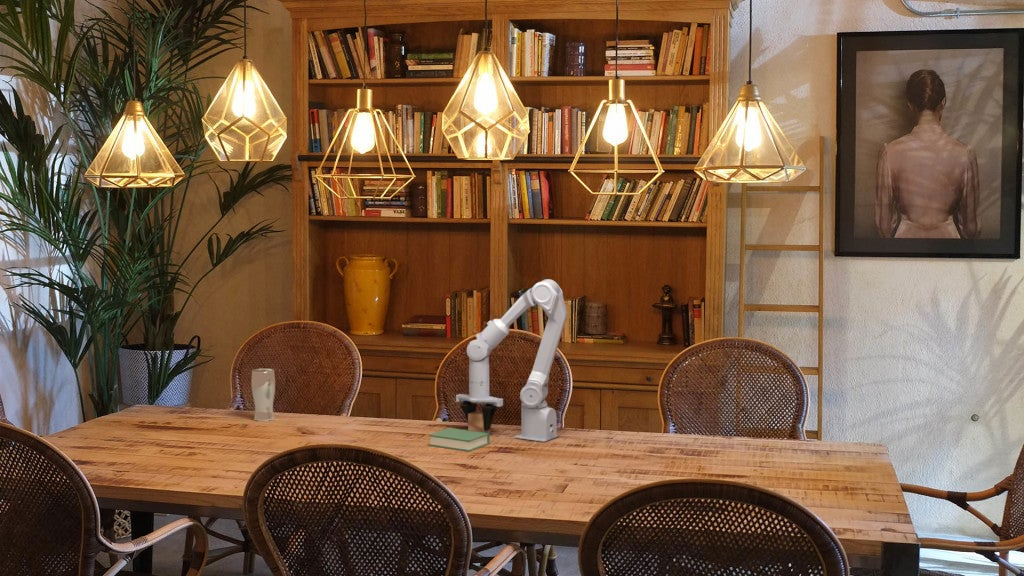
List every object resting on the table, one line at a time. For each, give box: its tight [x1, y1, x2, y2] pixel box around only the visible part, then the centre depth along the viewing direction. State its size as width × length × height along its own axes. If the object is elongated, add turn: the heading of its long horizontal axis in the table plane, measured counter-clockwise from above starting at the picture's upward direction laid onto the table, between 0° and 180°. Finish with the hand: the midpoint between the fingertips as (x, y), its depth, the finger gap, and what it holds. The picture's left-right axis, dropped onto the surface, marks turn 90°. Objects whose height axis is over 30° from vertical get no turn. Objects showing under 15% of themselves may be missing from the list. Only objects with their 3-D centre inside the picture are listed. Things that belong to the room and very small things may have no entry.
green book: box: [428, 427, 491, 453], centre depth 284 cm, size 13×10×3 cm
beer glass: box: [251, 368, 276, 422], centre depth 316 cm, size 7×7×15 cm
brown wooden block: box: [467, 410, 492, 435], centre depth 296 cm, size 5×5×6 cm
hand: (479, 429), depth 296 cm, fingers closed on brown wooden block, 5 cm apart
